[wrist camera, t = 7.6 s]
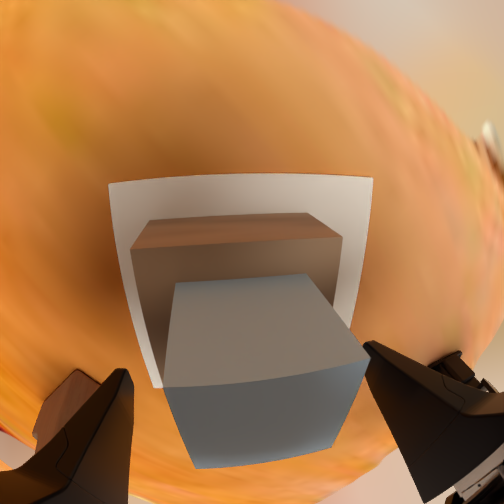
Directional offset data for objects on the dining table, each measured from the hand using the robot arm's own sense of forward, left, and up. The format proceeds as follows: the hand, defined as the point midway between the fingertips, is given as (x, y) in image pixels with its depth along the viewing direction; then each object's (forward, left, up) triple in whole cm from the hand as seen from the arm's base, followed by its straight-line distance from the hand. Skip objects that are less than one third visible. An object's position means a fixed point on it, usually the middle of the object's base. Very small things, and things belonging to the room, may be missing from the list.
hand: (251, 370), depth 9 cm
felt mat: (-1, -1, -7) cm, 7 cm away
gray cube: (0, 0, -2) cm, 2 cm away
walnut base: (0, 0, -6) cm, 6 cm away
